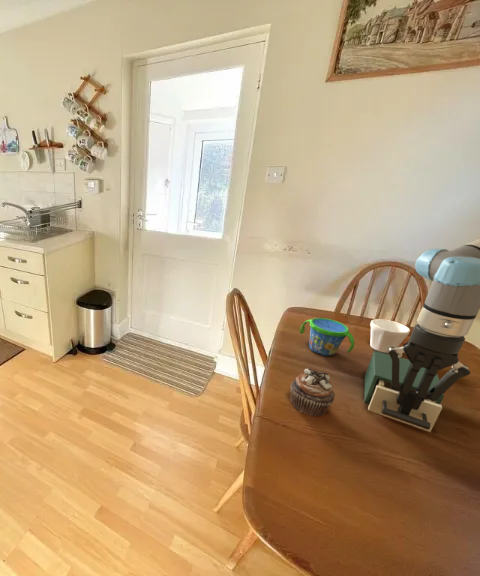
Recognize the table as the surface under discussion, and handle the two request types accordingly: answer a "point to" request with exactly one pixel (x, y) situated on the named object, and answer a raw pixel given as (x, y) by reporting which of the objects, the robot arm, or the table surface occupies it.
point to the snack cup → (327, 335)
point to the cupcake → (312, 392)
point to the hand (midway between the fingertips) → (401, 416)
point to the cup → (386, 334)
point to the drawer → (388, 407)
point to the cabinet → (390, 374)
